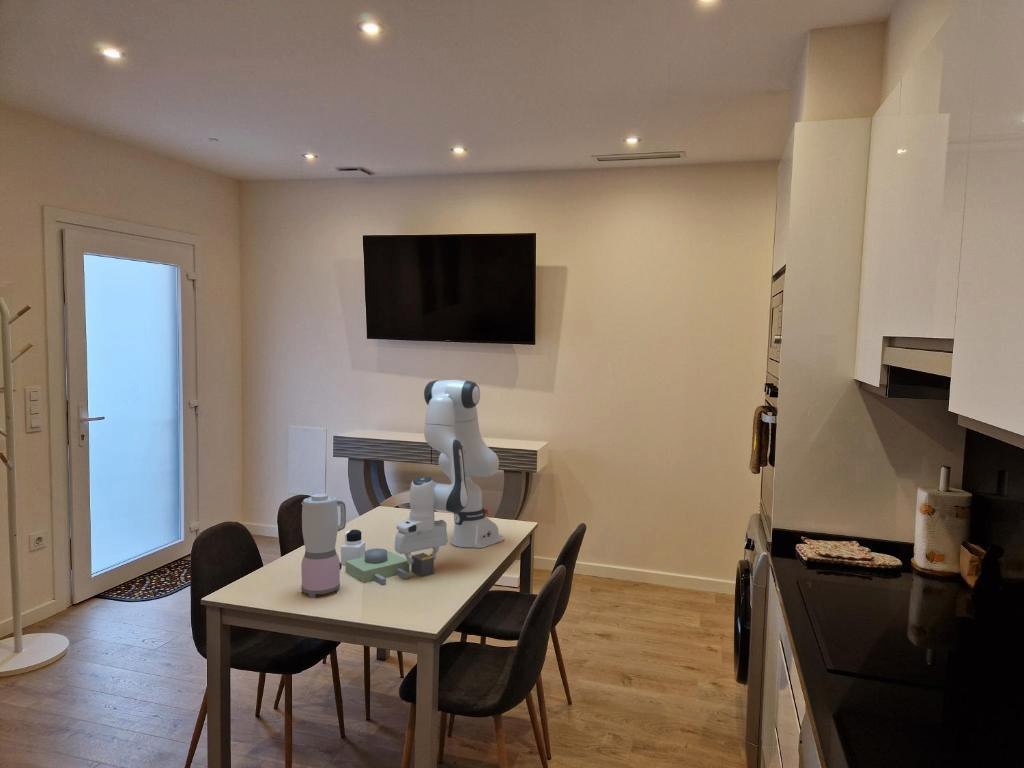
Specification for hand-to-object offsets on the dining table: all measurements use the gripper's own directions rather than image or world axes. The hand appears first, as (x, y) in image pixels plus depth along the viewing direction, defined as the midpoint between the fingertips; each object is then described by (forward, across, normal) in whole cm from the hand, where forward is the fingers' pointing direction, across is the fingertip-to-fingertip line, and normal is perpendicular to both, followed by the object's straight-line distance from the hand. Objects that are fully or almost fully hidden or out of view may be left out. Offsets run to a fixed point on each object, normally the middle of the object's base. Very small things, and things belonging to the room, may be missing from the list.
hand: (421, 561), depth 239 cm
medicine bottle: (+4, +13, -26) cm, 30 cm away
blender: (+5, +34, -6) cm, 34 cm away
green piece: (+4, +12, -8) cm, 15 cm away
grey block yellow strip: (+4, 0, 0) cm, 4 cm away
